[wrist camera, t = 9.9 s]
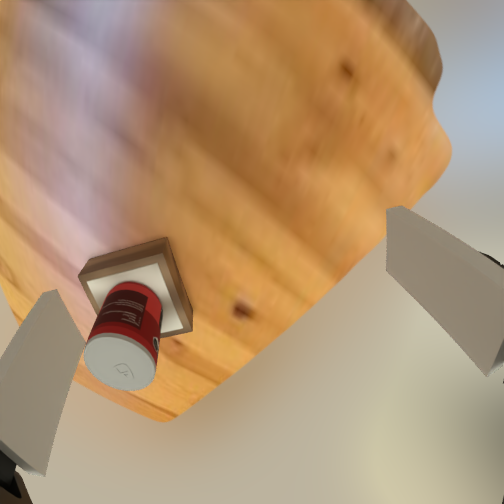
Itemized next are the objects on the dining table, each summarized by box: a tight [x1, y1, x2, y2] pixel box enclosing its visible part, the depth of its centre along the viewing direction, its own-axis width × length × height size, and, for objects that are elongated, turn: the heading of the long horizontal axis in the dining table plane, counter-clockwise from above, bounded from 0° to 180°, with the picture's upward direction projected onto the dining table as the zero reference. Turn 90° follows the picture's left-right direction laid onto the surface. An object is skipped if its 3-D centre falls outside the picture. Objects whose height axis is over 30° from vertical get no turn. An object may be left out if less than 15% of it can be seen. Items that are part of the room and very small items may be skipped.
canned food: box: [84, 282, 163, 391], centre depth 32 cm, size 8×8×11 cm
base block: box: [78, 237, 193, 338], centre depth 40 cm, size 12×12×5 cm
